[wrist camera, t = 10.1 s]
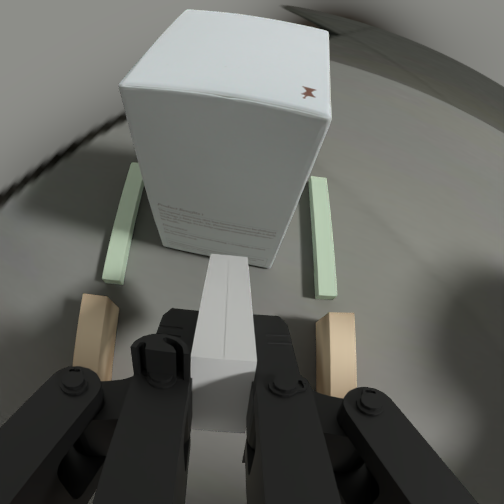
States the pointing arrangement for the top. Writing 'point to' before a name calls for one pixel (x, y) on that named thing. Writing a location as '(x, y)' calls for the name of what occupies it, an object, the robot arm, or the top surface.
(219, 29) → the supplement box
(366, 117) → the top surface
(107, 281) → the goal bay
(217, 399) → the robot arm
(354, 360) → the channel
